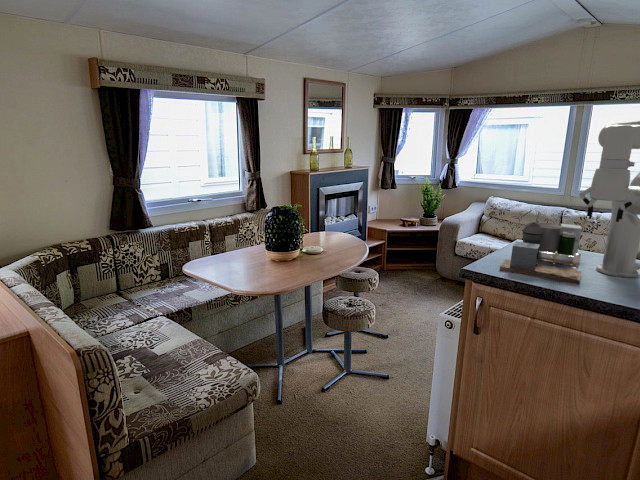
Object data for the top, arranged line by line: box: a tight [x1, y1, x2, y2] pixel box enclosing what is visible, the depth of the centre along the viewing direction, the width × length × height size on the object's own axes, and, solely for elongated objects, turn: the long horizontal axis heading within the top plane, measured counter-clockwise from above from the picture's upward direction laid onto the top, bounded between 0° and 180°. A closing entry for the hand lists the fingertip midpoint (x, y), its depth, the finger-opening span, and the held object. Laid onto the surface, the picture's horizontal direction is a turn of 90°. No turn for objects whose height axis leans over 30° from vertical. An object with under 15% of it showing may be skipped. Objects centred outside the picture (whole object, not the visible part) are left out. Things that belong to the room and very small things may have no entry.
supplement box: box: [559, 223, 583, 256], centre depth 172 cm, size 7×7×13 cm
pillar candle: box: [537, 221, 562, 262], centre depth 166 cm, size 10×10×15 cm
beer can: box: [556, 232, 576, 266], centre depth 161 cm, size 5×5×12 cm
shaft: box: [537, 251, 582, 269], centre depth 146 cm, size 18×5×5 cm, turn 57°
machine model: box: [499, 240, 582, 286], centre depth 148 cm, size 25×12×10 cm, turn 57°
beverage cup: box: [522, 211, 543, 244], centre depth 161 cm, size 7×7×20 cm
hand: (603, 219), depth 136 cm, fingers open, 6 cm apart
